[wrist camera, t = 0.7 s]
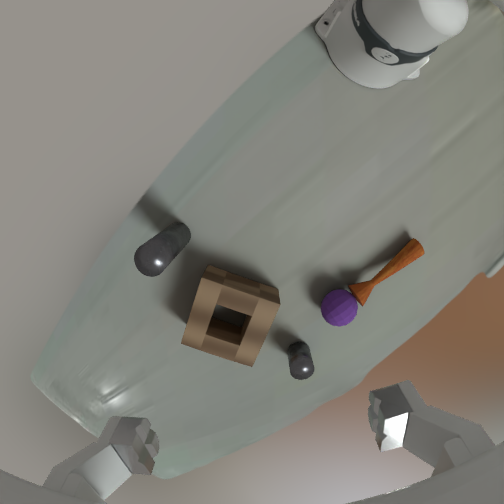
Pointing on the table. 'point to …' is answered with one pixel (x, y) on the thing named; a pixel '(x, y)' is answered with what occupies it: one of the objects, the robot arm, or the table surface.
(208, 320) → the hole block
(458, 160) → the table surface
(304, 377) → the short pin
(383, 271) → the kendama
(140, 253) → the long pin
